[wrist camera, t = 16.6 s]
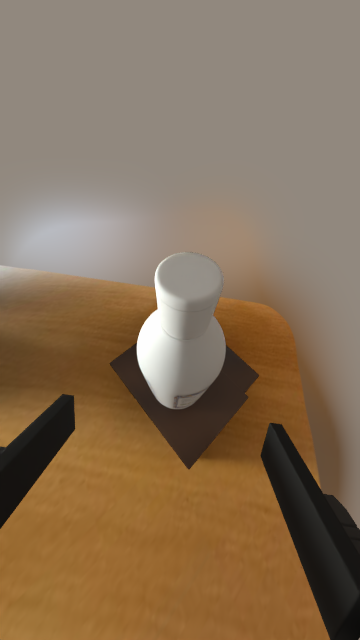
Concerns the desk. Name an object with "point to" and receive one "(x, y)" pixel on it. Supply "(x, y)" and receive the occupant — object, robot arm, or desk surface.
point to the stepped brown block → (201, 417)
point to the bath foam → (183, 331)
